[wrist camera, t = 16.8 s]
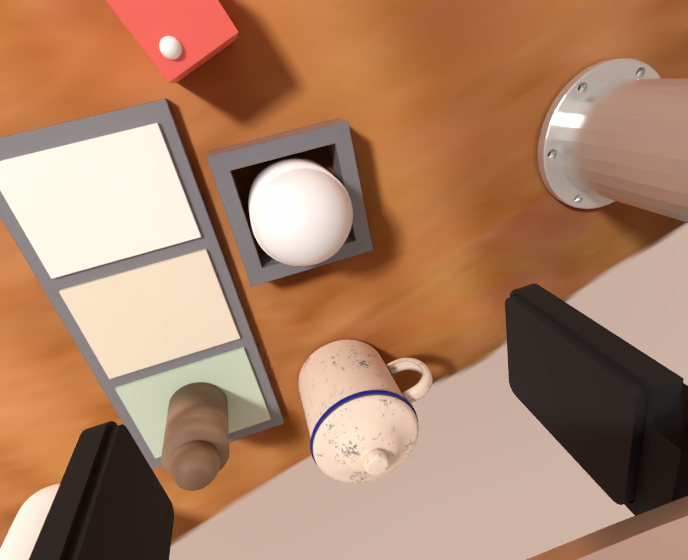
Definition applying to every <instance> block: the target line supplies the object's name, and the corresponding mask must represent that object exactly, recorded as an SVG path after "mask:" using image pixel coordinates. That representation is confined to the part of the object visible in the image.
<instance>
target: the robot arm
mask: <svg viewBox="0 0 688 560" xmlns="http://www.w3.org/2000/svg"><path fill="white" fill-rule="evenodd" d="M538 165H539V172H540V175H541V178H542V180H543V183H544V185H545V186H546V188H547V189H548V191H549V192H550V193H551V194H552V195H553V196H554V197H555V198H556V199H557V200H559V201H561V202H563V203H564V204H567V205H570V206H572V207H575V208H582V209H592V208H599V207H602V206H606V205H609V204H611V203H613V202H615V201H617V202H621V203H624V204H627V205H631V206H634V207H637V208H641V209H644V210H647V211H650V212H654V213H657V214H660V215H664V216H667V217H670V218H674V219H677V220H680V221H684V222H687V223H688V78H661V77H660V76H659V75H658V73H657V72H656V71H655V70H654V69H653V68H652V67H650V66H649V65H648V64H646V63H644V62H642V61H639V60H637V59H629V58H619V59H609V60H605V61H602V62H598V63H596V64H594V65H592V66H590V67H588V68H586V69H584V70H583V71H582V72H580V73H579V74H578V75H576V76H575V77H574V78H573V79H572V80H571V81H570V82H569V83H568V84H567V85H566V86H565V87H564V88H563V89H562V90H561V92H560V93H559V95H558V96H557V97H556V99H555V100H554V102H553V103H552V105H551V107H550V109H549V111H548V113H547V115H546V117H545V120H544V123H543V126H542V129H541V132H540V137H539V143H538ZM505 311H506V331H507V349H508V369H509V383H510V387H511V389H512V391H513V393H514V394H515V395H516V397H517V398H518V399H519V400H520V401H521V402H522V403H523V404H524V405H525V406H526V407H527V408H528V410H529V411H530V412H531V413H532V414H533V415H534V416H535V417H536V418H537V419H538V420H539V421H540V422H541V424H542V425H543V426H544V427H545V428H546V429H547V430H548V431H549V432H550V433H551V434H552V435H553V436H554V438H555V439H556V440H557V441H558V442H559V443H560V444H561V445H562V446H563V447H564V448H565V449H566V450H567V452H568V453H569V454H570V455H571V456H572V457H573V458H574V459H575V460H576V461H577V462H578V463H579V464H580V466H581V467H582V468H583V469H584V470H585V471H586V472H587V473H588V474H589V475H590V476H591V477H592V478H593V480H595V482H596V483H597V484H598V485H599V486H600V487H601V488H602V489H603V490H604V491H605V492H606V494H607V495H608V496H609V497H610V498H611V499H612V500H613V501H614V502H616V503H617V504H620V505H622V504H625V505H626V506H627V508H628V509H629V510H630V511H631V512H632V513H633V514H634V515H635V516H634V517H631V518H629V519H626V520H623V521H621V522H618V523H616V524H613V525H611V526H608V527H606V528H603V529H601V530H598V531H596V532H593V533H591V534H588V535H586V536H583V537H581V538H579V539H576V540H574V541H571V542H569V543H566V544H564V545H561V546H559V547H556V548H554V549H552V550H549V551H547V552H544V553H542V554H540V555H537V556H534V557H532V558H529V559H527V560H688V386H687V385H685V384H684V383H683V378H682V377H680V376H679V375H677V374H675V373H674V372H672V371H671V370H669V369H668V368H666V367H664V366H663V365H661V364H660V363H658V362H657V361H655V360H654V359H652V358H651V357H649V356H648V355H646V354H644V353H643V352H641V351H640V350H638V349H637V348H635V347H634V346H632V345H630V344H629V343H627V342H626V341H624V340H623V339H621V338H620V337H618V336H617V335H615V334H613V333H612V332H610V331H608V330H607V329H606V328H604V327H603V326H601V325H599V324H598V323H596V322H595V321H593V320H592V319H590V318H589V317H587V316H586V315H584V314H582V313H581V312H579V311H578V310H576V309H575V308H573V307H571V306H570V305H568V304H567V303H565V302H564V301H562V300H561V299H559V298H558V297H556V296H555V295H553V294H551V293H550V292H548V291H547V290H545V289H544V288H542V287H541V286H539V285H537V284H531V285H527V286H524V287H521V288H518V289H515V290H513V291H512V292H511V293H510V297H509V298H507V299H506V301H505ZM173 520H174V511H173V506H172V503H171V501H170V499H169V497H168V496H167V494H166V492H165V491H164V489H163V487H162V486H161V484H160V482H159V481H158V479H157V477H156V476H155V474H154V472H153V471H152V469H151V467H150V466H149V464H148V462H147V460H146V459H145V457H144V455H143V454H142V452H141V450H140V449H139V447H138V445H137V444H136V442H135V440H134V439H133V437H132V435H131V434H130V432H129V430H128V429H127V427H126V426H125V425H119V426H118V425H117V424H116V423H115V422H113V421H110V422H107V423H104V424H100V425H97V426H94V427H91V428H88V429H85V430H84V431H83V432H82V433H81V435H80V437H79V440H78V442H77V445H76V447H75V449H74V452H73V454H72V457H71V459H70V462H69V464H68V466H67V469H66V471H65V474H64V476H63V478H62V481H61V483H60V486H59V488H58V490H57V493H56V495H55V498H54V500H53V503H52V505H51V507H50V510H49V512H48V515H47V517H46V519H45V521H44V524H43V526H42V529H41V531H40V534H39V536H38V538H37V541H36V543H35V546H34V548H33V550H32V553H31V555H30V558H29V560H169V554H170V545H171V537H172V529H173Z"/></svg>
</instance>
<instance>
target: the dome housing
mask: <svg viewBox="0 0 688 560" xmlns="http://www.w3.org/2000/svg"><path fill="white" fill-rule="evenodd" d="M326 145H328V147H329V151H330V156H331V160H332V165H333V169H334V174H335V177H336V178H337V179H338V180H339V181H340V182H341V183H342V185H343V186H344V187H345V189H346V191H347V192H348V195H349V197H350V200H351V203H352V209H353V220H352V226H351V230H350V232H349V235H348V237H347V239H346V241H345V242H344V244H343V245H342V247H341V248H340V249H339V250H338V251H337V253H335V254H334V255H333V256H332V257H330V258H329V259H327V260H325V261H323V262H321V263H318V264H315V265H311V266H292V265H287V264H284V263H281V262H279V261H277V260H275V259H273V258H272V257H271V256H269V255H268V254H267V253H264V254H261V255H259V252H258V249H257V246H256V243H255V240H254V237H253V234H252V231H251V228H250V225H249V222H248V219H247V215H246V212H245V209H244V206H243V203H242V200H241V197H240V194H239V191H238V188H237V185H236V182H235V179H234V175H233V172H232V170H235V169H239V168H242V167H246V166H250V165H254V164H258V163H262V162H265V161H269V160H273V159H277V158H281V157H284V156H288V155H292V154H296V153H300V152H304V151H307V150H311V149H315V148H319V147H323V146H326ZM207 160H208V163H209V166H210V169H211V172H212V174H213V177H214V180H215V183H216V186H217V189H218V192H219V195H220V198H221V200H222V203H223V206H224V209H225V212H226V215H227V218H228V221H229V223H230V226H231V229H232V232H233V235H234V238H235V241H236V244H237V247H238V249H239V252H240V255H241V258H242V261H243V264H244V267H245V270H246V272H247V275H248V278H249V281H250V284H251V287H252V286H255V285H259V284H262V283H265V282H269V281H272V280H275V279H279V278H282V277H285V276H289V275H292V274H296V273H299V272H302V271H306V270H309V269H312V268H316V267H319V266H322V265H326V264H329V263H332V262H336V261H339V260H342V259H346V258H349V257H353V256H356V255H359V254H363V253H366V252H369V251H373V247H372V242H371V237H370V232H369V227H368V221H367V216H366V211H365V206H364V201H363V196H362V191H361V186H360V180H359V175H358V170H357V165H356V160H355V155H354V150H353V144H352V139H351V134H350V129H349V124H348V121H345V120H341V119H334V120H330V121H326V122H323V123H319V124H315V125H311V126H307V127H303V128H299V129H295V130H291V131H287V132H283V133H279V134H275V135H272V136H268V137H264V138H260V139H256V140H252V141H248V142H244V143H240V144H236V145H232V146H228V147H224V148H220V149H217V150H213V151H209V152H208V155H207Z"/></svg>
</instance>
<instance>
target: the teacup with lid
mask: <svg viewBox="0 0 688 560" xmlns="http://www.w3.org/2000/svg"><path fill="white" fill-rule="evenodd" d="M403 370H415V371H418V372H420V373H422V378H421V379H420V381H419V382H418V383H417V384H416V385H415V386H413V387H411V388H410V389H408V390H406V391H404V392H402V393H401V391H400V389H399V388H398V386H397V384H396V382H395V381H394V379H393V377H392V375H394V374H396V373H398V372H400V371H403ZM432 382H433V378H432V374H431V372H430V370H429V368H428V367H427V365H426V364H424V363H423V362H422V361H420V360H417V359H414V358H400V359H397V360H394V361H392V362H390V363H388V364H386V365H385V363H384V361H383V360H382V358H381V356H380V355H379V353H378V352H377V351H376V350H375V349H374V348H373V347H372V346H370V345H368V344H366V343H364V342H361V341H357V340H339V341H334V342H331V343H329V344H326V345H324V346H322V347H321V348H319V349H318V350H316V351H315V352H314V353H313V354H312V355H311V356H310V357H309V358H308V359H307V360H306V362H305V363H304V365H303V367H302V369H301V372H300V375H299V391H300V395H301V399H302V404H303V408H304V412H305V416H306V420H307V424H308V428H309V433H310V437H311V441H310V449H311V454H312V457H313V459H314V461H315V462H316V464H317V465H318V467H319V468H320V469H321V470H322V471H323V472H324V473H325V474H327V475H328V476H330V477H331V478H333V479H336V480H338V481H342V482H348V483H361V482H367V481H371V480H374V479H377V478H380V477H382V476H384V475H386V474H388V473H390V472H391V471H393V470H394V469H396V468H397V467H398V466H400V464H402V463H403V462H404V461H405V460H406V458H407V457H408V456H409V454H410V453H411V451H412V450H413V448H414V446H415V443H416V440H417V436H418V419H417V415H416V412H415V410H414V408H413V406H412V405H411V403H412V402H414V401H416V400H418V399H420V398H421V397H423V396H424V395H425V394H426V393H427V392H428V390H429V389H430V387H431V385H432Z"/></svg>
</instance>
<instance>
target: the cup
mask: <svg viewBox="0 0 688 560" xmlns="http://www.w3.org/2000/svg"><path fill="white" fill-rule="evenodd" d="M59 486H60V483H58V484H54V485H51V486H48V487H45V488H43V489H41V490H39V491H38V492H36V493H35V494H33V495H32V496H31V497H30V498H29V499H28V500H26V502H25V503H24V504H23V505H22V507H21V508H20V510H19V512H18V514H17V516H16V518H15V520H14V522H13V524H12V526H11V528H10V530H9V532H8V534H7V536H6V538H5V540H4V542H3V544H2V546H1V548H0V560H29V558H30V555H31V553H32V550H33V548H34V546H35V543H36V541H37V538H38V536H39V534H40V531H41V529H42V526H43V524H44V521H45V519H46V517H47V515H48V512H49V510H50V507H51V505H52V503H53V500H54V498H55V495H56V493H57V490H58V488H59Z"/></svg>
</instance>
